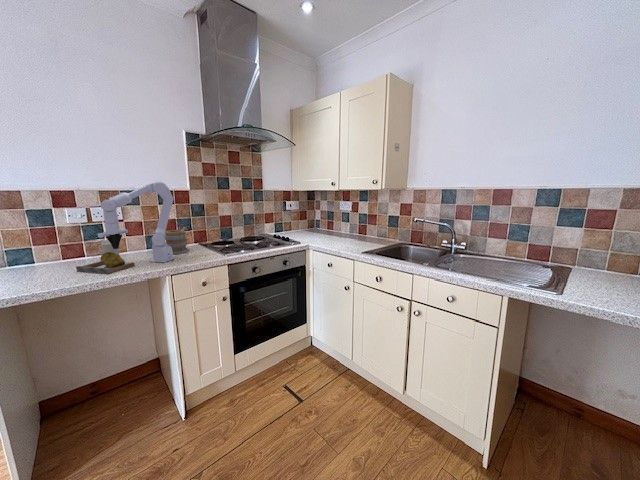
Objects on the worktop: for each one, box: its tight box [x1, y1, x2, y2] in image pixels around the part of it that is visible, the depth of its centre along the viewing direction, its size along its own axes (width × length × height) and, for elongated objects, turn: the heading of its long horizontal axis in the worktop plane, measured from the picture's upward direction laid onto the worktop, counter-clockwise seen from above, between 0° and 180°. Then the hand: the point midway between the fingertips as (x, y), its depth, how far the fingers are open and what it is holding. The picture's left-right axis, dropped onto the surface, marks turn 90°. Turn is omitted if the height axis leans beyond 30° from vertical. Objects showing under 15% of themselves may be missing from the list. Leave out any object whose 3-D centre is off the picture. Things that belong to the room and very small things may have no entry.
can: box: [100, 239, 121, 257], centre depth 150 cm, size 8×8×12 cm
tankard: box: [165, 226, 189, 256], centre depth 172 cm, size 20×13×15 cm, turn 173°
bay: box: [75, 260, 136, 275], centre depth 136 cm, size 20×14×2 cm, turn 77°
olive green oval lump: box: [100, 252, 126, 269], centre depth 137 cm, size 8×13×8 cm, turn 50°
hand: (116, 248), depth 140 cm, fingers closed
